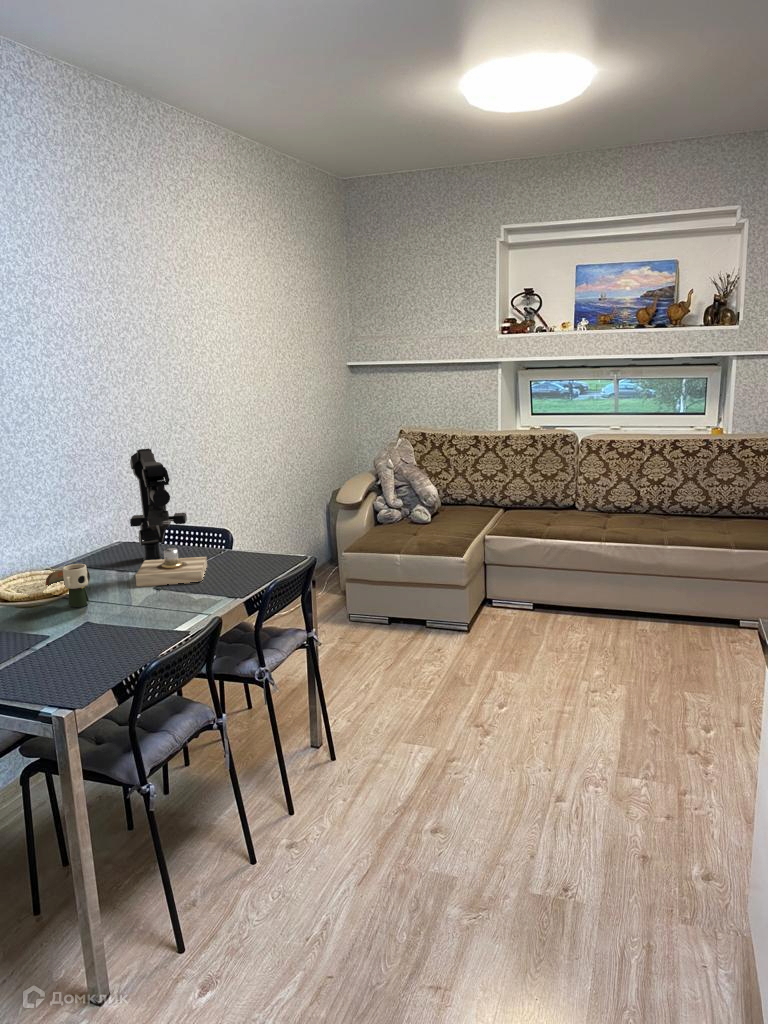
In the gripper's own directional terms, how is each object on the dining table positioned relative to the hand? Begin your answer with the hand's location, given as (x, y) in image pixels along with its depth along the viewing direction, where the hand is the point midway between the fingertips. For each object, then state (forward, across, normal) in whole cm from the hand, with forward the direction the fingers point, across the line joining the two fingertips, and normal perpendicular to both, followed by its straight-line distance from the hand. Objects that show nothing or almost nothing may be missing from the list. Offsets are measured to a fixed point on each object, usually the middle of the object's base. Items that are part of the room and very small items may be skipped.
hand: (161, 542), depth 278 cm
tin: (+12, -29, -14) cm, 34 cm away
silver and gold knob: (+11, +4, -4) cm, 12 cm away
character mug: (+11, -23, -29) cm, 38 cm away
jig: (+12, +4, -4) cm, 13 cm away
